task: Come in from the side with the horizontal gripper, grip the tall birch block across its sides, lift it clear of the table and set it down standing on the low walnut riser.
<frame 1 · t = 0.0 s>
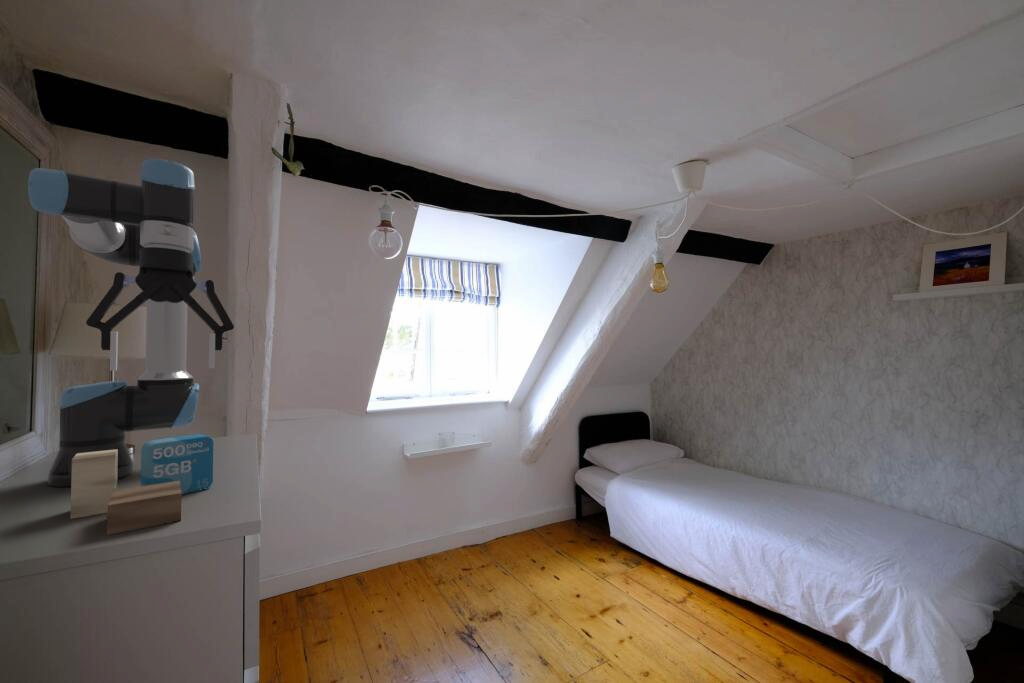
hand: (165, 369, 77), 28 cm above the table, tool pointing down, fingers open, 13 cm apart
birch block: (94, 510, 85), on the table
walnut riser: (146, 518, 81), on the table
data package: (177, 493, 96), on the table
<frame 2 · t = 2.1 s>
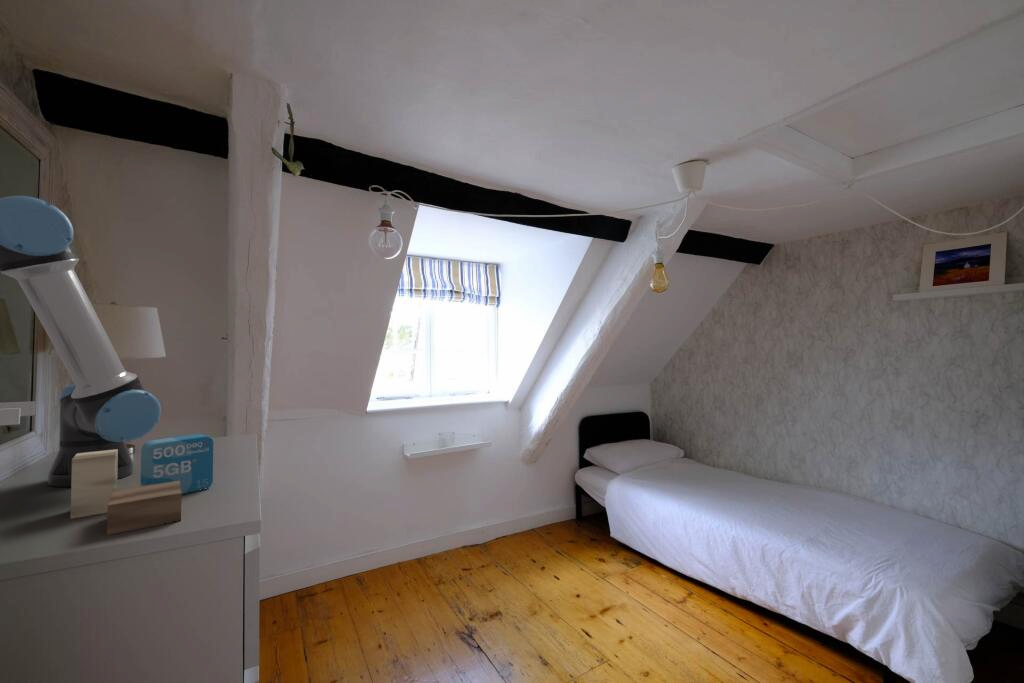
hand: (28, 411, 80), 20 cm above the table, tool horizontal, fingers open, 13 cm apart
nothing on the table moved.
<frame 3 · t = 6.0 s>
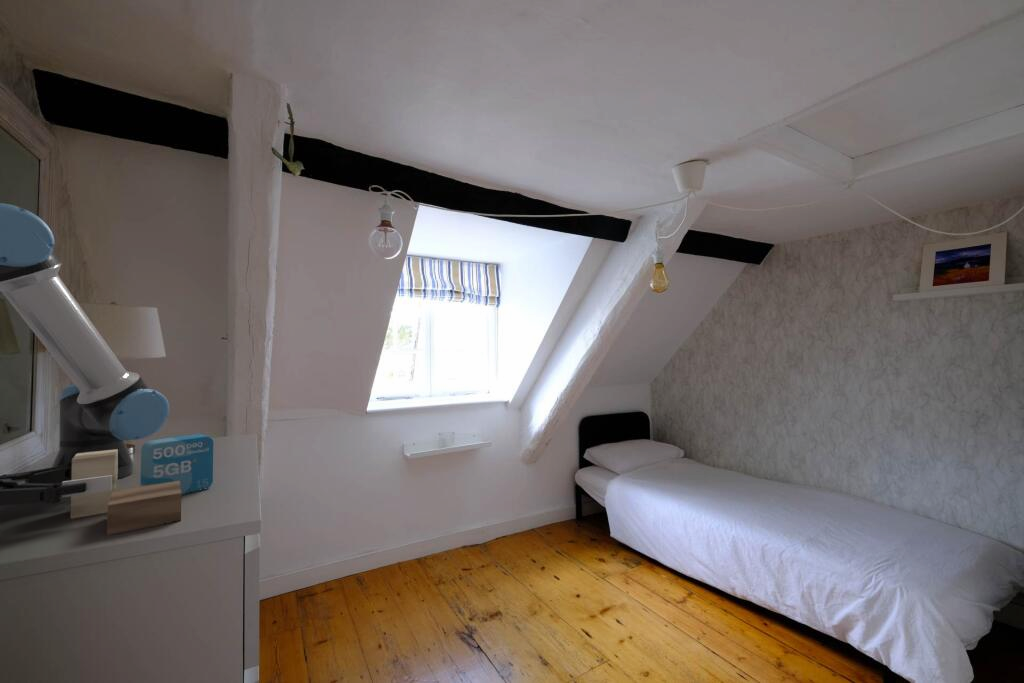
hand: (115, 474, 87), 6 cm above the table, tool horizontal, fingers open, 13 cm apart
nothing on the table moved.
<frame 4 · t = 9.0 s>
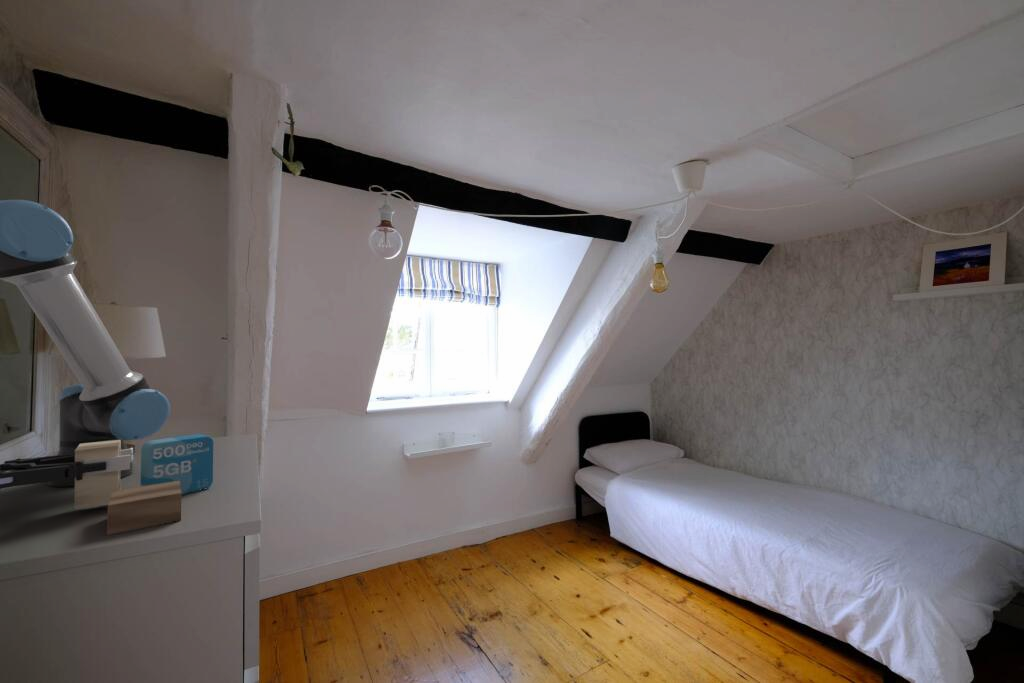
hand: (130, 458, 89), 9 cm above the table, tool horizontal, fingers closed on birch block, 6 cm apart
birch block: (98, 500, 86), point 2 cm above the table, touching gripper
everything else where it was.
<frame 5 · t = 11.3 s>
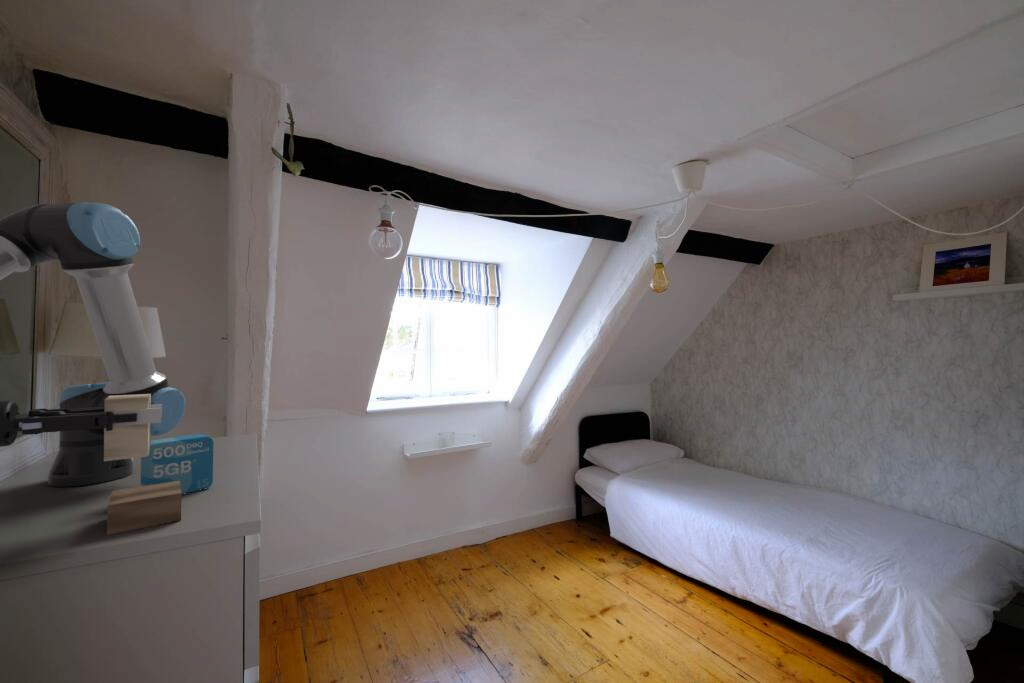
hand: (160, 413, 84), 19 cm above the table, tool horizontal, fingers closed on birch block, 6 cm apart
birch block: (128, 455, 82), point 12 cm above the table, touching gripper
everything else where it was.
when the fingers open (13 cm above the table, at t = 13.9 s): birch block stays where it is, resting on walnut riser.
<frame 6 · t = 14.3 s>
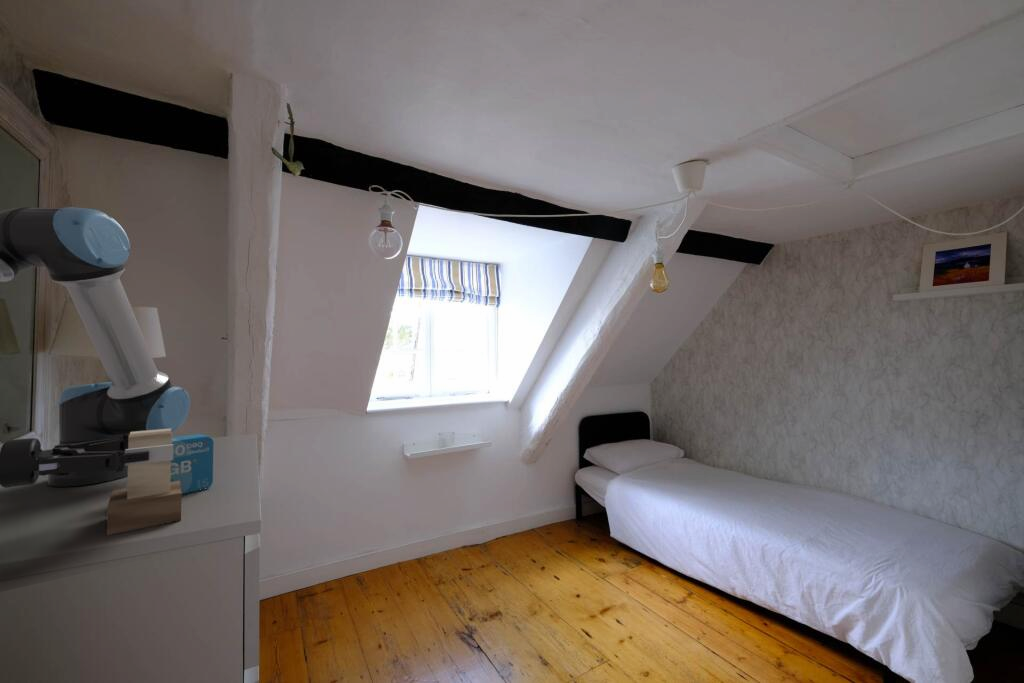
hand: (172, 446, 83), 13 cm above the table, tool horizontal, fingers open, 12 cm apart
birch block: (149, 491, 81), point 5 cm above the table, touching walnut riser
everything else where it was.
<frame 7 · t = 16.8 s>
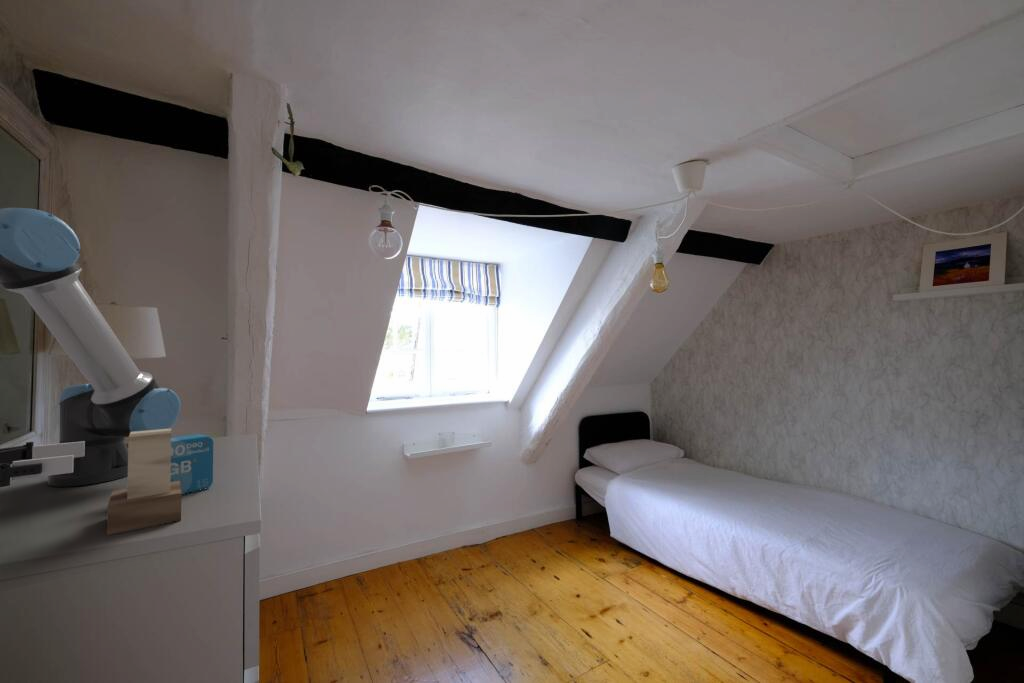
hand: (79, 455, 75), 13 cm above the table, tool horizontal, fingers open, 13 cm apart
nothing on the table moved.
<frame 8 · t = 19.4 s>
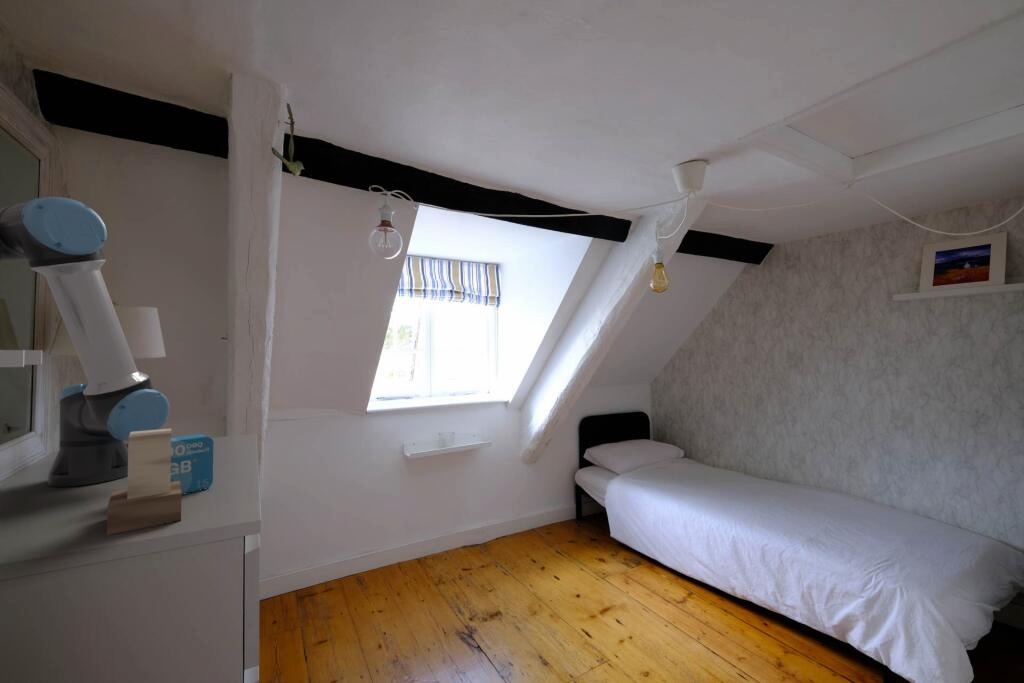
hand: (33, 357, 76), 30 cm above the table, tool horizontal, fingers open, 13 cm apart
nothing on the table moved.
at the end: birch block inside the target area on the walnut riser (0.4 cm from its centre), point 5.0 cm above the walnut riser's base; birch block tilted 0°; the gripper is holding nothing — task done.
